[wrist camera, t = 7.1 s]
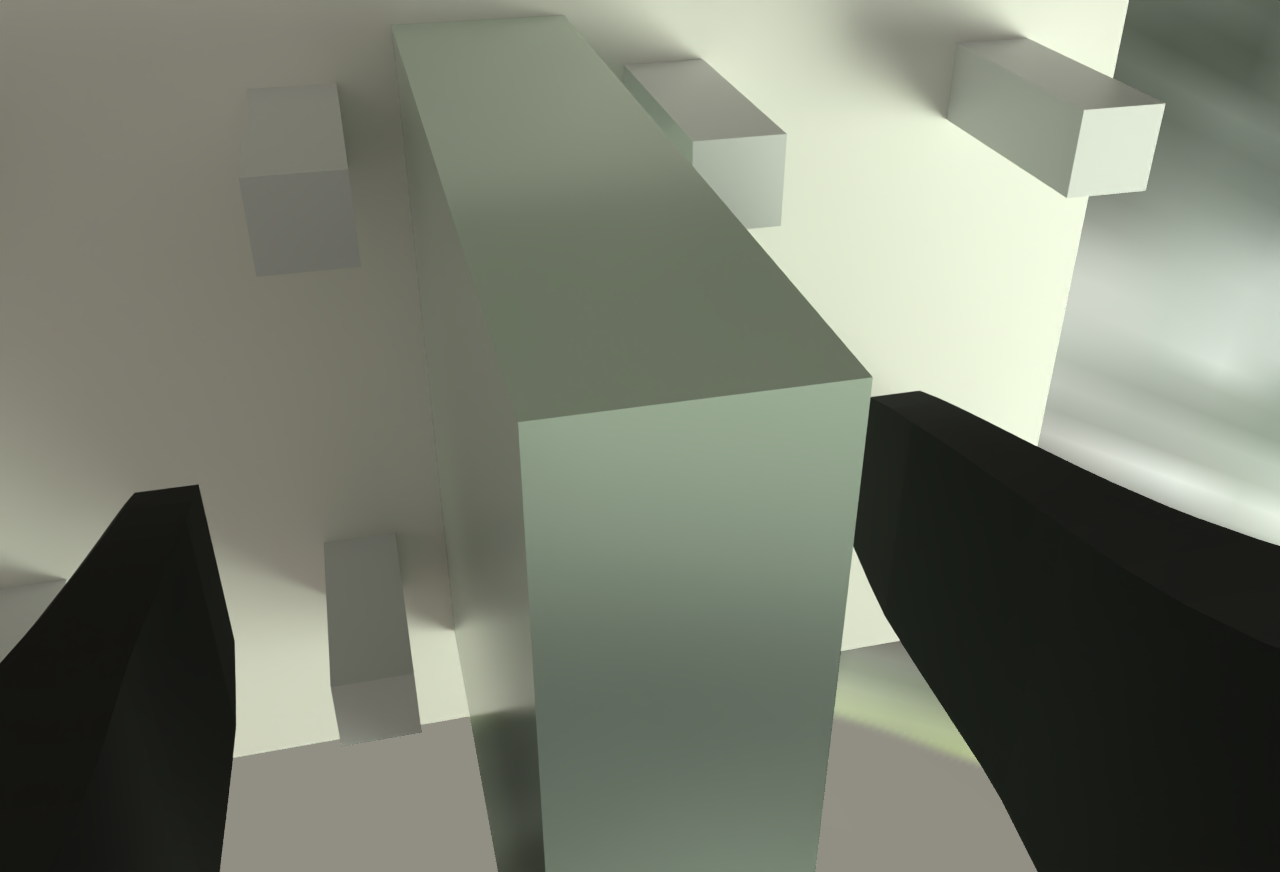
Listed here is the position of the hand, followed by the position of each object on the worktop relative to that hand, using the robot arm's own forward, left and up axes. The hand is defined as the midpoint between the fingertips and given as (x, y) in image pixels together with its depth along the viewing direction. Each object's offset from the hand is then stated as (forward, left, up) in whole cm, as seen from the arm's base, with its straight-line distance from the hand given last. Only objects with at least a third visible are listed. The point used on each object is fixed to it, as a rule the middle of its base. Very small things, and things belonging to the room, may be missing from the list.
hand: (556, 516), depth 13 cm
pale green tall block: (0, 0, -4) cm, 4 cm away
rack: (0, 0, -5) cm, 5 cm away
